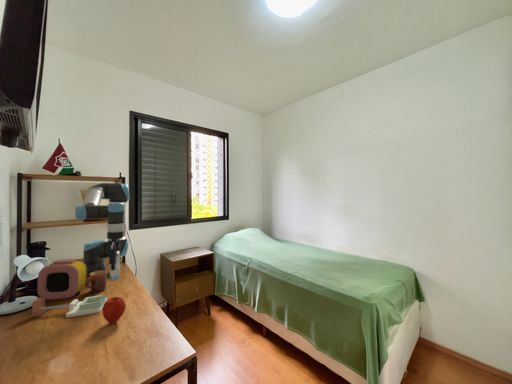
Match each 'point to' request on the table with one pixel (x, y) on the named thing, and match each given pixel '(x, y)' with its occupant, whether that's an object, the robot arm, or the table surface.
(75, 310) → the dock
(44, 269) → the alarm clock
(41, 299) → the pin
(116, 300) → the apple
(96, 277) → the mug
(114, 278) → the silver metal cylinder
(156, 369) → the table surface
